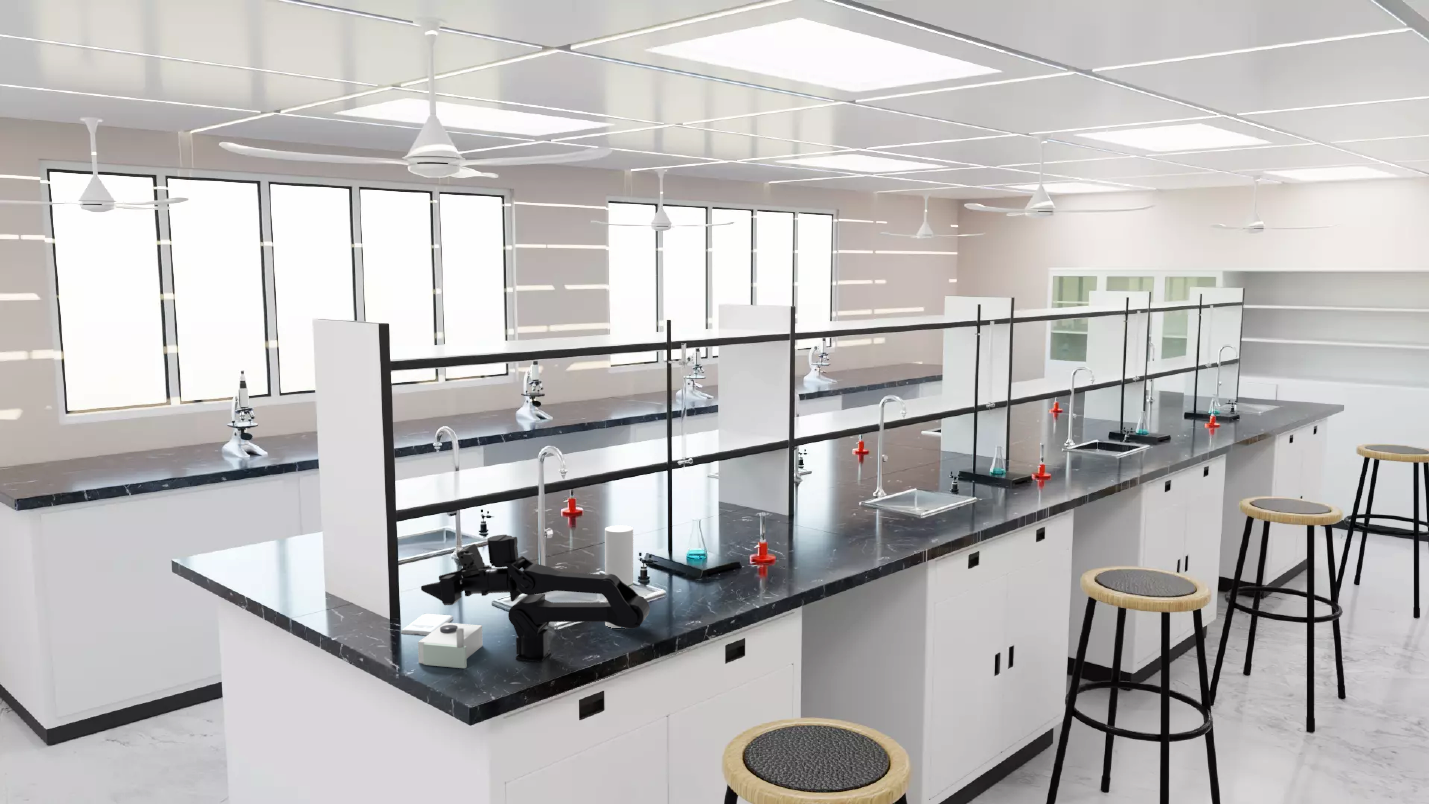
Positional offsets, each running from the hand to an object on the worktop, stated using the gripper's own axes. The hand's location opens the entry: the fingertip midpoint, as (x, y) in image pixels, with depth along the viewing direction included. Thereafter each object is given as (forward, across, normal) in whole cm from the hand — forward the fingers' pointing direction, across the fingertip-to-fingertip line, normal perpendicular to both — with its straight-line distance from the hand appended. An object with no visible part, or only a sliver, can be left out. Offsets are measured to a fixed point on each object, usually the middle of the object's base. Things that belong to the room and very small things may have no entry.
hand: (430, 583), depth 237 cm
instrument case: (-4, +2, +17) cm, 17 cm away
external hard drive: (+10, -15, +16) cm, 24 cm away
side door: (-6, +10, +17) cm, 20 cm away
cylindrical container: (-37, -26, +19) cm, 49 cm away
